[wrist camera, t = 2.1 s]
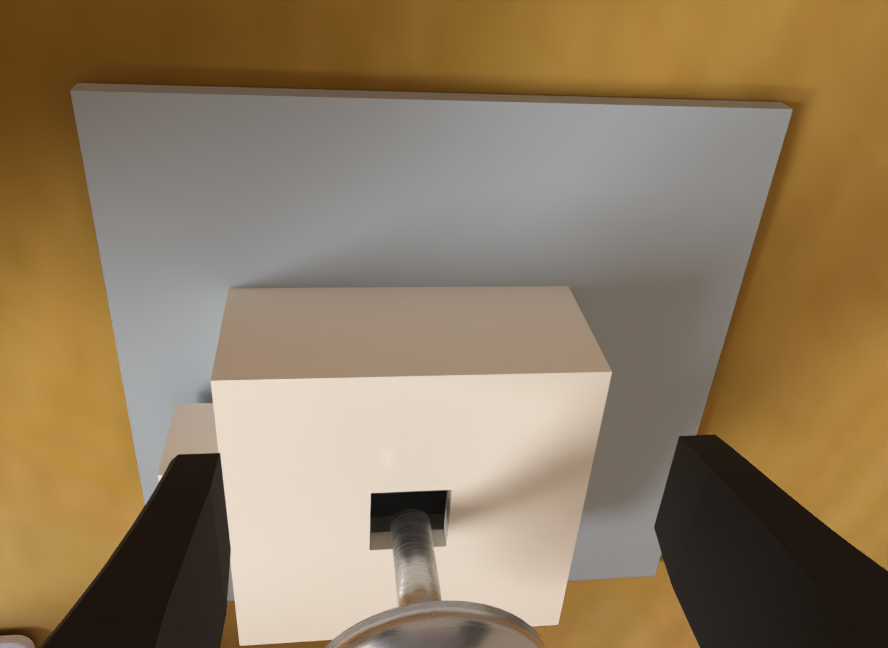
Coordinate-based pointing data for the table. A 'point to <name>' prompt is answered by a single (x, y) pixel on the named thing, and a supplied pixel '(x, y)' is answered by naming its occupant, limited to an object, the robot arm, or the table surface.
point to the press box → (397, 446)
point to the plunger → (431, 605)
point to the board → (437, 242)
